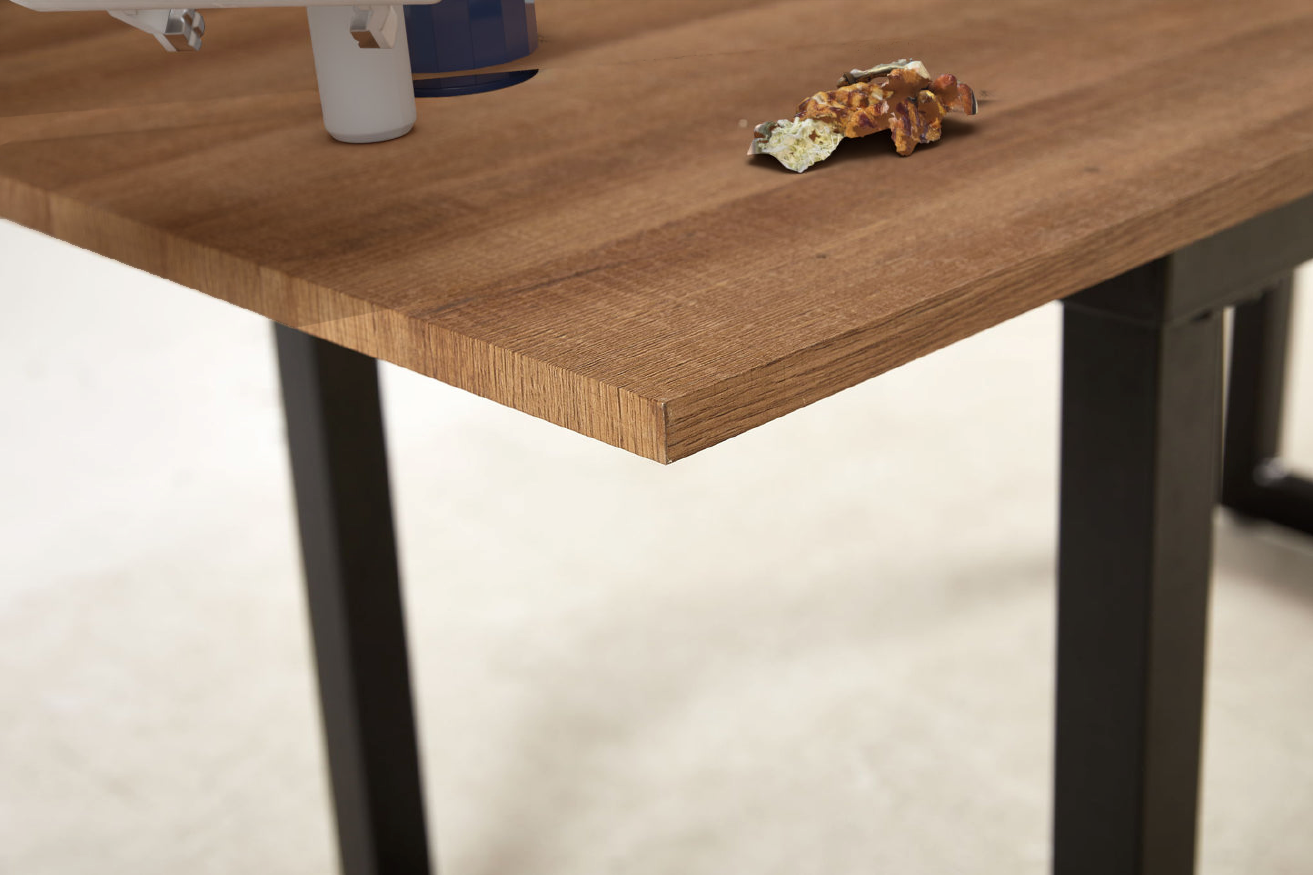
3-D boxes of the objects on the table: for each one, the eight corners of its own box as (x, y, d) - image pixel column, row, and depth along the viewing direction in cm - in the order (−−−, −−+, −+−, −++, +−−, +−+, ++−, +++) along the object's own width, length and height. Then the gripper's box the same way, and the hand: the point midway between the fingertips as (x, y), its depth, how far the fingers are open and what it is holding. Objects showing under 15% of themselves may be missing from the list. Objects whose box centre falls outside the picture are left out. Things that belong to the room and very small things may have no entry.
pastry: (721, 157, 74) (718, 82, 73) (883, 104, 81) (884, 35, 80) (833, 184, 69) (832, 104, 68) (995, 124, 77) (998, 51, 75)
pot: (512, 97, 87) (496, -60, 83) (337, 98, 89) (315, -55, 85) (558, 55, 96) (546, -89, 93) (399, 57, 98) (381, -84, 95)
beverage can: (317, 129, 83) (280, -106, 78) (405, 116, 85) (374, -116, 79) (337, 150, 79) (300, -97, 74) (429, 135, 81) (398, -108, 75)
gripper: (412, -252, 57) (511, -27, 70) (-82, -226, 61) (98, -18, 74) (386, -108, 55) (493, 96, 68) (-122, -91, 59) (69, 99, 72)
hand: (283, 37), depth 71 cm, fingers open, 8 cm apart
